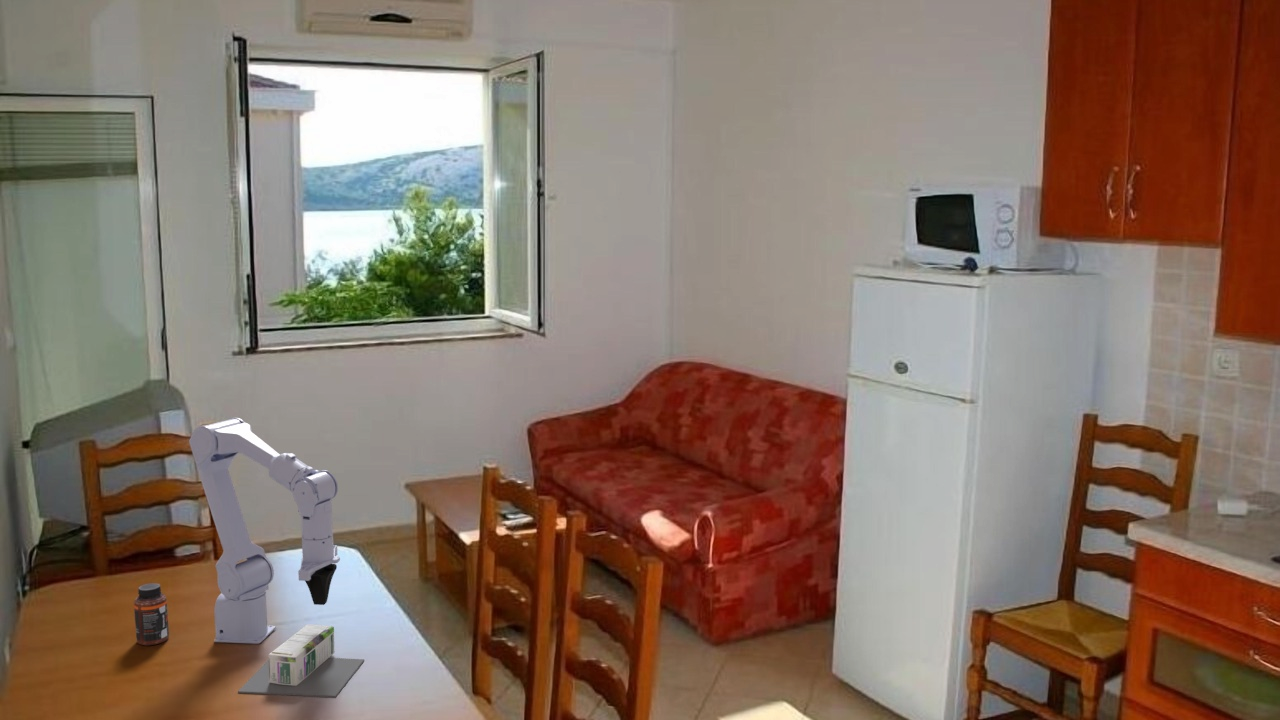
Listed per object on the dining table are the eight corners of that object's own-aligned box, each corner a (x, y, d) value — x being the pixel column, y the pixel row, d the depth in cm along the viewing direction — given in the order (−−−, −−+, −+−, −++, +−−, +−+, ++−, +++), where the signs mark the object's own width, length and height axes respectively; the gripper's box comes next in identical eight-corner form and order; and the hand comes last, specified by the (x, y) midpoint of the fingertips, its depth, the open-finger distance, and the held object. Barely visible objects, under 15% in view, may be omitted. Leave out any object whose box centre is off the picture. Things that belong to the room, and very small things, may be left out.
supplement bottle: (174, 640, 213) (170, 586, 211) (144, 649, 209) (140, 594, 207) (161, 631, 217) (158, 578, 215) (131, 640, 213) (127, 586, 211)
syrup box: (335, 653, 207) (297, 687, 192) (307, 650, 208) (268, 684, 194) (334, 625, 206) (296, 657, 192) (306, 623, 207) (266, 654, 193)
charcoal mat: (237, 692, 191) (237, 691, 191) (273, 656, 206) (273, 655, 206) (335, 697, 189) (335, 695, 189) (364, 660, 204) (364, 659, 204)
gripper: (323, 548, 196) (326, 619, 198) (351, 524, 210) (353, 590, 212) (286, 547, 196) (289, 617, 198) (316, 523, 210) (319, 588, 213)
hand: (320, 603), depth 205 cm, fingers closed
